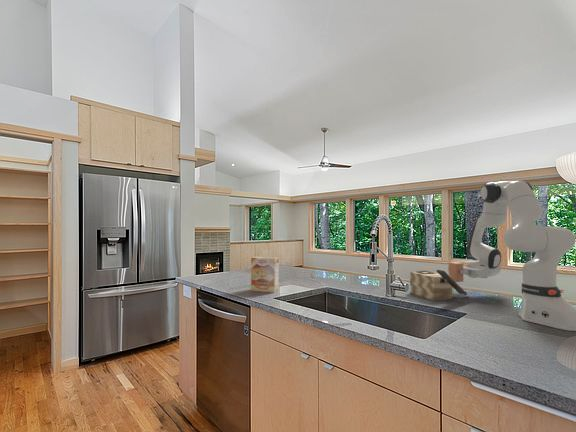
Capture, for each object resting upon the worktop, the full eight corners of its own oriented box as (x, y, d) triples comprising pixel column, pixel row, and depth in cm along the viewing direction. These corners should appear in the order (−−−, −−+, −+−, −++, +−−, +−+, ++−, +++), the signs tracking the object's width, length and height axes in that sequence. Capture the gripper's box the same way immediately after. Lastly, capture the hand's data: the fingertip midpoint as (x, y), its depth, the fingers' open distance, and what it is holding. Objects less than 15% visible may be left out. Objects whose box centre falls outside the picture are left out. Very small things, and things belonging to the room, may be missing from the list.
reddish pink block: (463, 281, 170) (463, 263, 170) (456, 282, 168) (456, 263, 169) (455, 279, 175) (455, 262, 175) (448, 280, 173) (448, 262, 173)
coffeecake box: (250, 290, 181) (250, 257, 182) (255, 288, 188) (255, 256, 189) (274, 292, 177) (274, 258, 177) (278, 290, 183) (279, 257, 184)
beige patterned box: (452, 298, 165) (452, 275, 165) (434, 300, 161) (433, 276, 162) (427, 291, 182) (427, 270, 183) (410, 292, 179) (410, 270, 179)
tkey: (467, 293, 158) (444, 270, 154) (465, 295, 158) (442, 273, 154) (455, 290, 165) (432, 268, 161) (453, 292, 165) (431, 270, 161)
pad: (469, 297, 168) (469, 296, 168) (456, 298, 165) (456, 297, 165) (456, 293, 177) (456, 292, 177) (443, 294, 174) (443, 293, 174)
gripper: (458, 261, 185) (440, 262, 181) (490, 266, 166) (470, 268, 162) (458, 272, 185) (440, 273, 181) (490, 278, 166) (470, 280, 162)
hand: (454, 271), depth 171 cm, fingers closed on reddish pink block, 5 cm apart
